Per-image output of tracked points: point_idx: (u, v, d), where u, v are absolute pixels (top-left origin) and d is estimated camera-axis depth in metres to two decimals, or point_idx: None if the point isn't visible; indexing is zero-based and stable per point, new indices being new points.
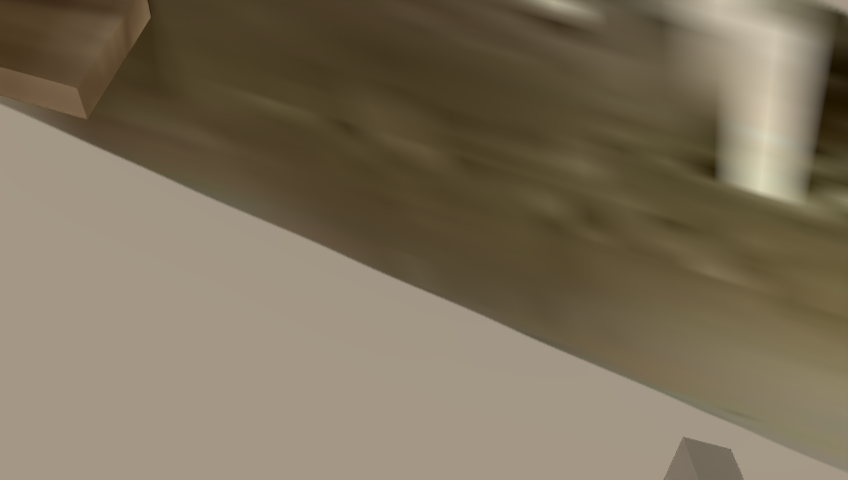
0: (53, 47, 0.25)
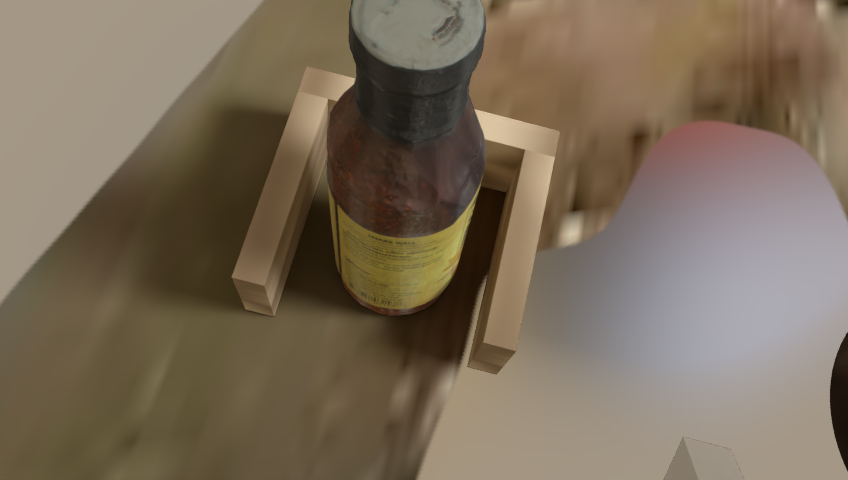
0: (276, 267, 0.36)
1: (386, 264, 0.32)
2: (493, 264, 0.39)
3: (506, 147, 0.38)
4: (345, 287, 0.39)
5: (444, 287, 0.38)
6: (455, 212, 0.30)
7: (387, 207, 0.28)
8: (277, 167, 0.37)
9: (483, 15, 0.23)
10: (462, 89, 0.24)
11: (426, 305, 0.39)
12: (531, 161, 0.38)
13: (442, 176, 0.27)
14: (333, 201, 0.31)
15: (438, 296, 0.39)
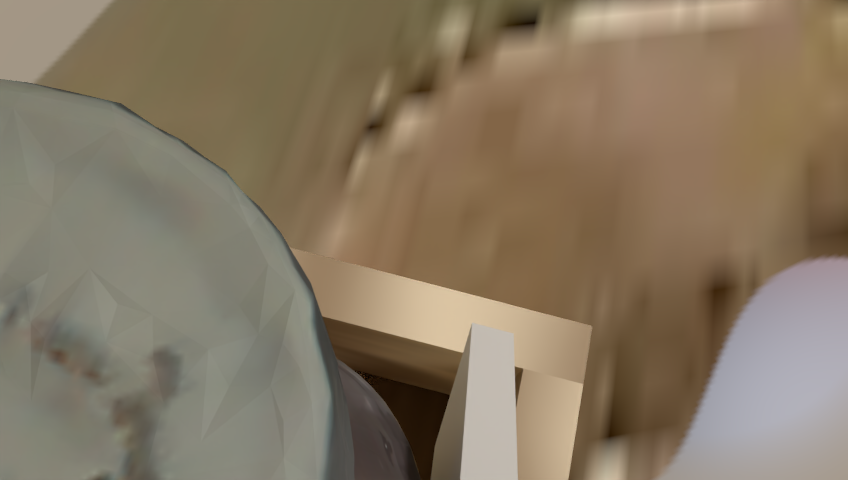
0: None
1: None
2: None
3: None
4: None
5: None
6: None
7: None
8: None
9: (325, 444, 0.03)
10: None
11: None
12: (536, 395, 0.19)
13: None
14: None
15: None
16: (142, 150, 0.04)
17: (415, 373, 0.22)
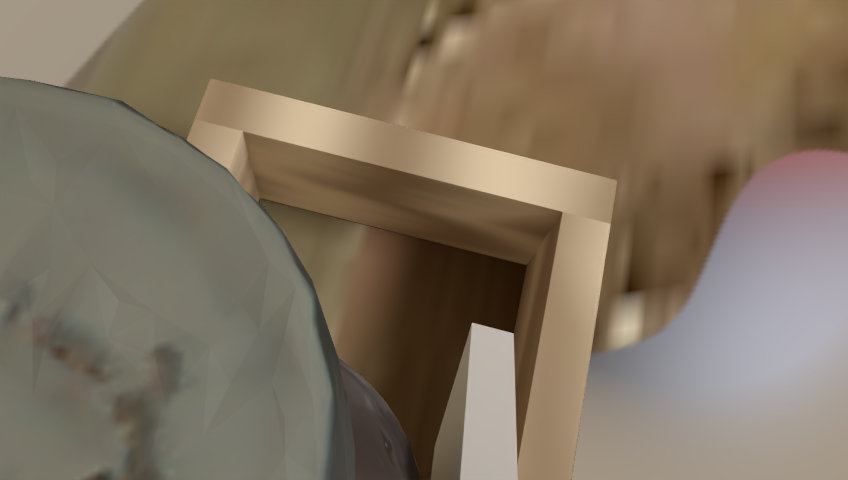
0: None
1: None
2: None
3: (532, 208, 0.24)
4: None
5: None
6: None
7: None
8: None
9: (327, 441, 0.03)
10: None
11: None
12: (573, 231, 0.23)
13: None
14: None
15: None
16: (144, 148, 0.04)
17: (469, 233, 0.27)
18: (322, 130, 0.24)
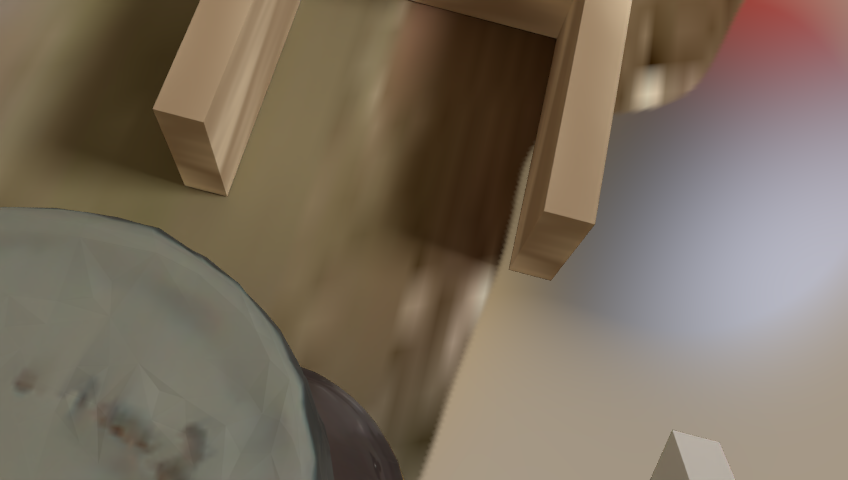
0: (225, 105, 0.24)
1: None
2: (546, 122, 0.27)
3: None
4: None
5: None
6: None
7: None
8: None
9: None
10: None
11: None
12: None
13: None
14: None
15: None
16: (176, 270, 0.05)
17: None
18: None
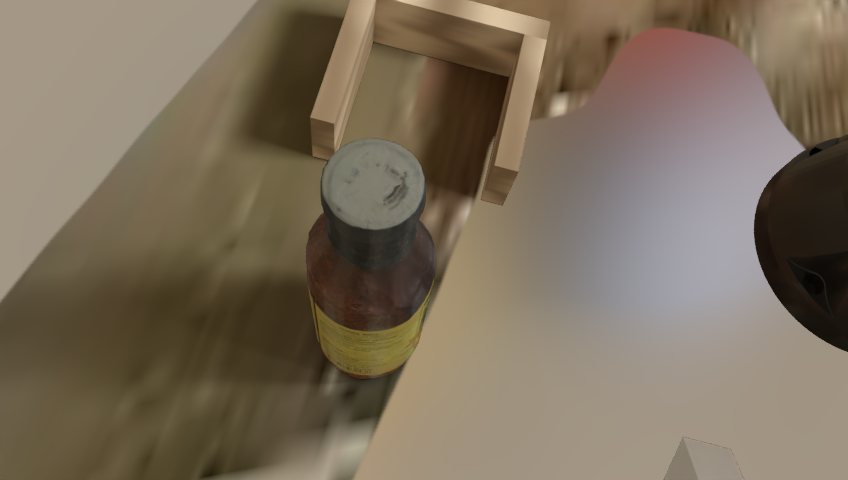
0: (340, 115, 0.49)
1: (356, 346, 0.39)
2: (500, 123, 0.52)
3: (510, 33, 0.51)
4: (324, 354, 0.46)
5: (407, 357, 0.45)
6: (410, 311, 0.36)
7: (353, 312, 0.35)
8: (340, 42, 0.49)
9: (423, 183, 0.30)
10: (409, 232, 0.31)
11: (393, 370, 0.46)
12: (529, 42, 0.51)
13: (397, 290, 0.34)
14: (311, 298, 0.38)
15: (403, 362, 0.46)
16: (399, 148, 0.30)
17: (480, 55, 0.54)
18: None
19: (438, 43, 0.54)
